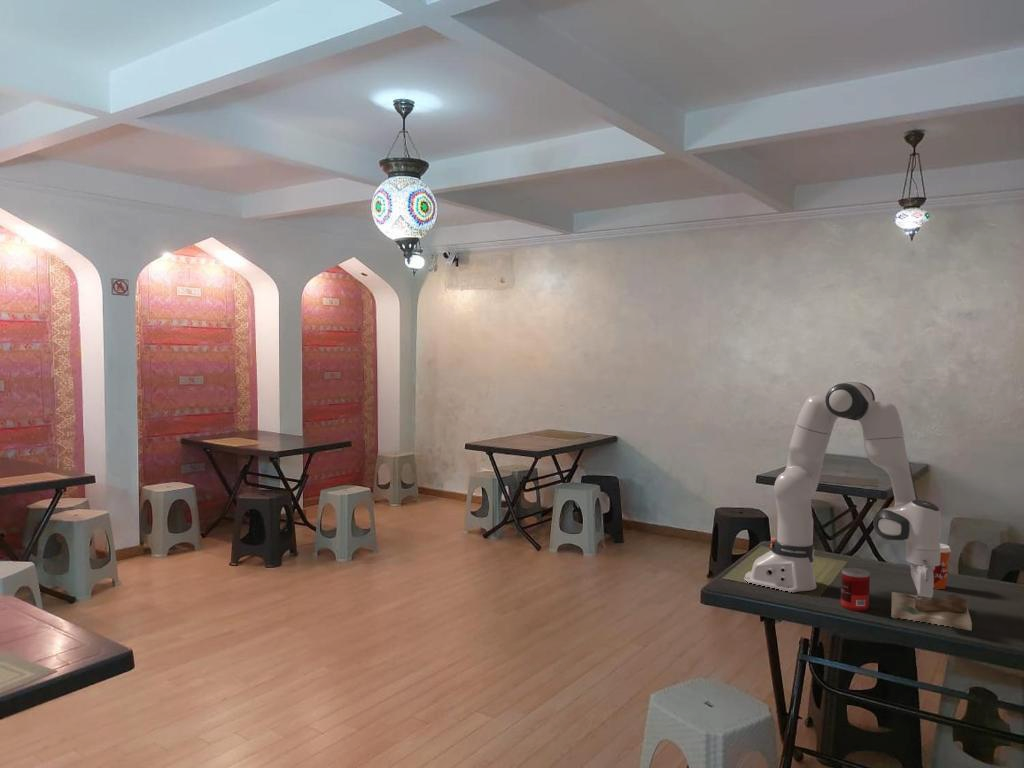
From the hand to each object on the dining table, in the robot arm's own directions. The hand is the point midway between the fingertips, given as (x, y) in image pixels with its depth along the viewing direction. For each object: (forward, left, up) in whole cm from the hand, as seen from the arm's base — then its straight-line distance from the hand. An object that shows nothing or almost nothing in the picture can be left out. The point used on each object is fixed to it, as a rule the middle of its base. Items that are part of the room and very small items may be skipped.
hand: (921, 602), depth 218 cm
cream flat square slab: (+2, +3, -4) cm, 5 cm away
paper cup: (+5, +32, -4) cm, 32 cm away
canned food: (-18, -2, -4) cm, 18 cm away
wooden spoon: (+5, 0, -1) cm, 5 cm away
